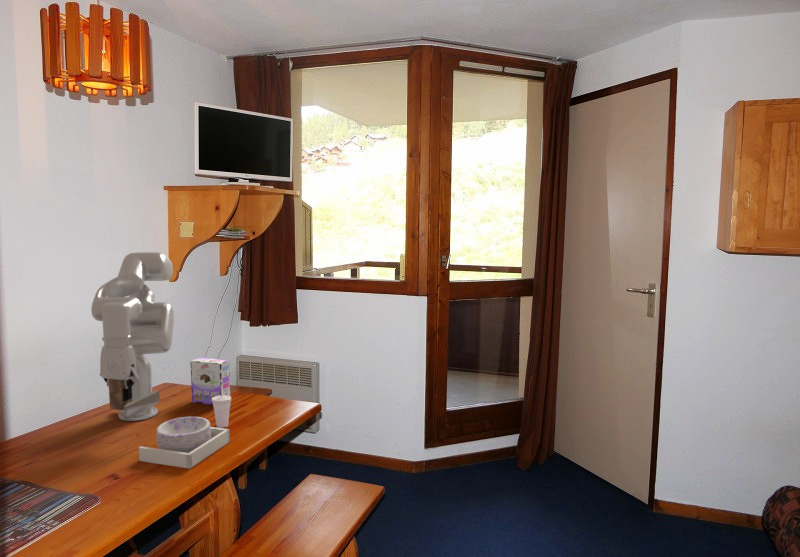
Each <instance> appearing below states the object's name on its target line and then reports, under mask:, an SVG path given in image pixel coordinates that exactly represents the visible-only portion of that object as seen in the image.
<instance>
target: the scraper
mask: <svg viewBox="0 0 800 557" xmlns="http://www.w3.org/2000/svg"><path fill="white" fill-rule="evenodd" d="M108 383H109V387H108V394H109V396H108V398H109V408H110V410H118V411H121V410H124V418H125V419H128V418H130V417H132V416H134V415H136V414H138V413H140V412H142V411H144V410H146V409H148V408H150V407H152V406H153V407H155V405H157V404H160V402H161V401H160V400H161V399H160V391H159V390H154V391H152V393H150V394H148V395H146V396H144V397H142V398H140V399H137V400H135V401H133V402H132V398H131V399H129V400H127V401H123V389H124V385H123V381H122V380H115V379H108ZM127 383H128V380H127Z"/></svg>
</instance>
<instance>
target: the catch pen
mask: <svg viewBox="0 0 800 557" xmlns="http://www.w3.org/2000/svg"><path fill="white" fill-rule="evenodd" d="M210 432H211V438H210V440H209V441H207V442H205V443H204V444H202V445H201V446H199V447H197V448H196V449H194V450H193V451H191V452H190V453H184V452H177V451H170V450H163V449H161V448H156V447H147V446H142V445H141V446H139V447H138V455H139V457H138V458H139V462H144V463H150V464H156V465H162V466H170V467H177V468H184V469H189V470H190V469H191V468H193V467H195V466H196V465H197V464H200V463H201V461H204V460H205V459H206V458H208V457H209V456H211V455H212V454H214V453H215V452H217V451H219V449H221V448H222V447H224V446H226V445H227V444H229V443H230V442H231V434H230V432H231V430H230V429H229V428H218V427H213V426H210Z"/></svg>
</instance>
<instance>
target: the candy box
mask: <svg viewBox="0 0 800 557" xmlns="http://www.w3.org/2000/svg"><path fill="white" fill-rule="evenodd" d="M189 362H190V364H189V365H190V380H191V382H190V383H191V385H190V386H191V402H192V403H194V404H195V403H197V404H203V405H212V406H213V403H212V398H213V397H215V396H220V395H221V385H223V395H228V396H231V378H230V376H231V375H230V374H231V373H230V370H231V369H230V360H229V359H218V358H210V357H209V358H207V357H197V358H193V359H192V360H189Z"/></svg>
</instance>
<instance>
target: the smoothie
mask: <svg viewBox="0 0 800 557" xmlns="http://www.w3.org/2000/svg"><path fill="white" fill-rule="evenodd" d="M231 402H232V396H231V395H230V396H228V395H223V385H221V395H220V396H215V397H213V398H212V403H213V405H212V406H213V412H214V417H215V418H214V419H215V424H216V428H223V429H225V428H227V427H228V426H229V417H230V410H231Z"/></svg>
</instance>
